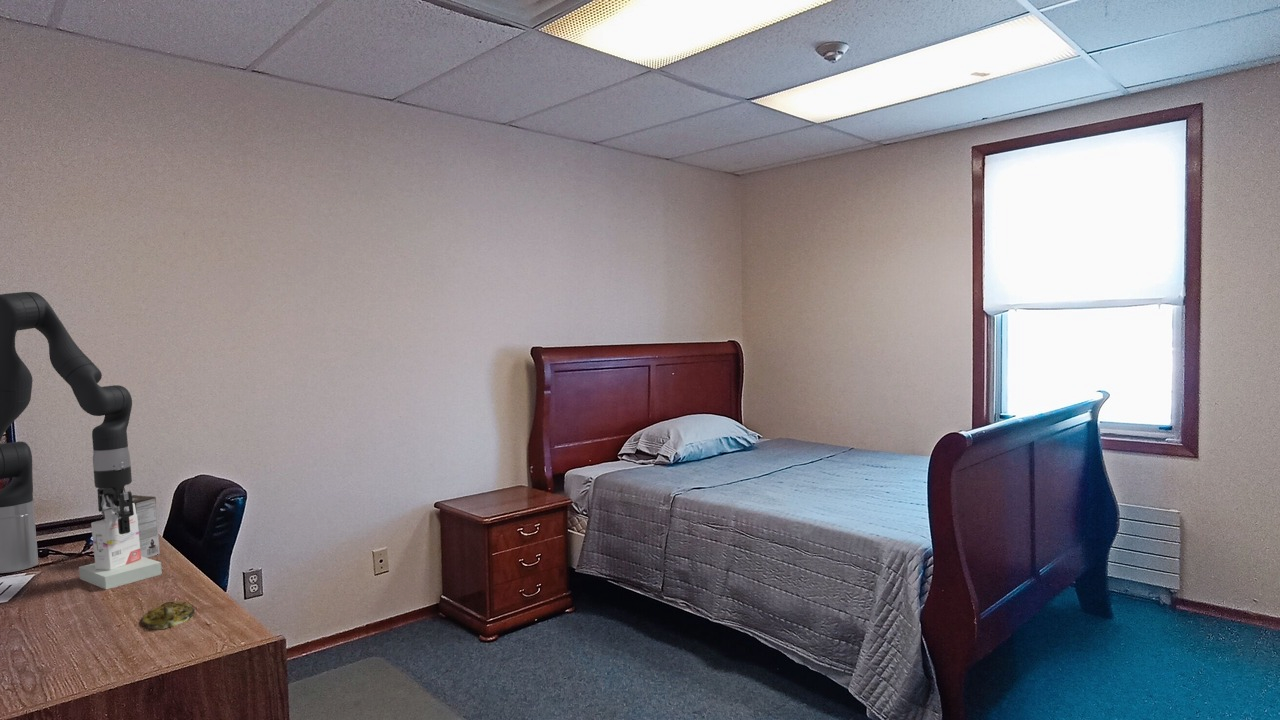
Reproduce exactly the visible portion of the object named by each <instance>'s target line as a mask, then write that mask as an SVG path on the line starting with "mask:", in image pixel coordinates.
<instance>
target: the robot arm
mask: <svg viewBox="0 0 1280 720" xmlns="http://www.w3.org/2000/svg"><path fill="white" fill-rule="evenodd" d="M31 329H36V330H37V331H38V332H39V333H41V334H42V335H43V336H44V337H45V339H46V341H47V343H48V355H49V361H50V364H51V366H52V368H53V369H54V370H55V371H56V373H57V374H58V375H59V376H60V377H61V378H62V379H63V380H64V381H65V382H66V383H67V384H68V385H69V386H70V388H71V391H72V392H73V395H74V396H75V399H76V400H77V403H78V405H79V406H80V408H81V409H82V411H84V412H85V413H87V414H89V415H91V416H94V417H102V416H103V417H104V418H103V422H102V423H101V424H99V425H96V426H95V427H94V428H93V429H92V432H91V437H92V438H91V439H92V450H93V451H92V453H93V454H92V468H93V478H94V487H95V488H96V489H97V505H98V506H97V507H98V512H99V513H101V515H102V516H103V520H104V519H105V515H104V511H105V510H109V509H112V511H113V512H115V513H116V515H117V518H118V529H119V534H126V533H129V532H130V522H129V517H131V516H132V515H134V512H133V502H132V495H133V494H132V493H133V492H132V491H131V490H129V491H126V489H125V487H126V485H127V486H128V485H130V484H131V483H132V482H133V477H132V465H131V455H130V450H129V442H128V433H127V430H128V427H129V423H130V422H129V421H130V418H131V413H132V408H133V400H132V398H133V397H132V395H131V393H130V392H129V390H128V389H127V388H126V387H124V386H122V385H117V384H116V385H114V384H113V385H105V386H101V385H100V384H98V383H100V381H101V380H102V377H103V374H102V372H101V370H100V369H99V368H98V366H97V365H95V363H94V362H93V361H92V360H91V359H90V357H88V356H87V355H86V354H85V353H84V352H83V351H82V350H81V348H80V347H79V346H78V345H77V343H76V342H75V341H74V340H73V338H72V337H71V335H70V334H69V332H68V329H66V327H65V325H64V324H63V323H62V321H61V320H60V318H59V317H58V315H57V314H56V312H55V311H54V309H53V308H52V306H51V305H50V304H49V302H48V301H47V300H46V298H45V297H43V296H42V295H41V294H39V293H38V292H34V291H19V292H10V293H1V294H0V442H1V441H2V439H3V436H4V434H5V433H6V431H7V430H8V428H9V427H10V426H11V425H12V424H13V423H14V422H15V421H16V420H17V419H18V418H19V417H20V415H22V413H23V412H24V411H25V410H26V409H27V407H28V406H29V404H30V402H31V398H32V391H33V390H32V389H33V375H32V373H31V371H30V369H29V367H27V365H26V364H25V362H24V361H23V360H22V358H21V357H20V356H19V354H18V352H17V351H16V350H17V349H16V337H17V332H18V331H25V330H31ZM4 479H5V480H6V479H11V481H10V482H9V483H8V484H7V485H6V486H4V487H3V488H1V489H0V574H4V573H5V574H7V573H15V572H19V571H23V570H26V569H27V570H28V569H30V568H33V567H36V566H37V565H38V564H39V555H38V553H39V552H38V543H37V531H36V518H35V507H34V497H33V496H34V493H33V492H34V482H33V481H34V480H33V454H32V451H31V447H30V446H29V444H28V443H27V442H25V441H13V442H11V441H10V442H5V443H0V480H4ZM124 511H125V512H124Z"/></svg>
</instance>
